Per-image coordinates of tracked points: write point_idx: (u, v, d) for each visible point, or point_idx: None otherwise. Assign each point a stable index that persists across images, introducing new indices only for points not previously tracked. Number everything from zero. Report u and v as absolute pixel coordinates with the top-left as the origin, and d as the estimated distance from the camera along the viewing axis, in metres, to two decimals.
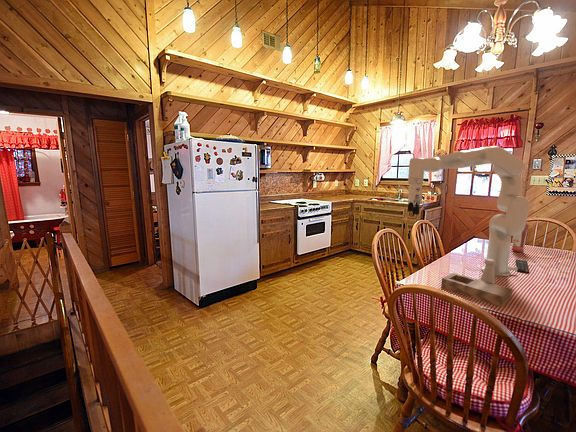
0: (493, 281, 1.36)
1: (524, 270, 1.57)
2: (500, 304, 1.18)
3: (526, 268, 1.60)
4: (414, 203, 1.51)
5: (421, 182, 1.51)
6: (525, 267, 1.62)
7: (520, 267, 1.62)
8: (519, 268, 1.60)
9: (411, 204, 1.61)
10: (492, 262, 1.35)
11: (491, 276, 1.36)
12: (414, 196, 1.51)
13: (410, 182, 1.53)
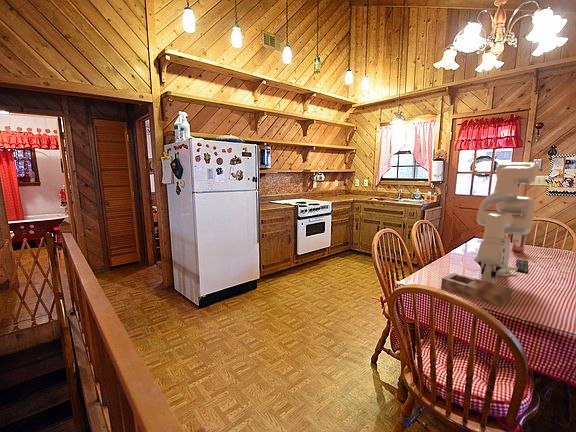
0: (493, 281, 1.36)
1: (523, 270, 1.58)
2: (500, 304, 1.18)
3: (525, 268, 1.60)
4: (496, 268, 1.34)
5: None
6: (525, 267, 1.62)
7: (520, 267, 1.62)
8: (518, 268, 1.60)
9: None
10: None
11: None
12: (502, 259, 1.32)
13: (495, 243, 1.32)
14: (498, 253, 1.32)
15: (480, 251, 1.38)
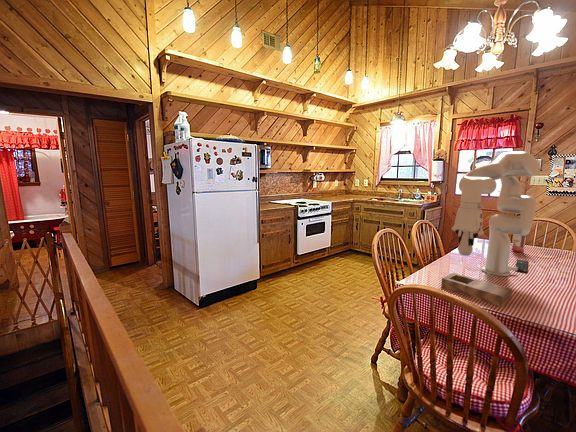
0: (470, 249, 1.30)
1: (522, 270, 1.58)
2: (500, 304, 1.18)
3: (525, 268, 1.61)
4: (473, 235, 1.28)
5: None
6: (524, 267, 1.62)
7: (520, 267, 1.62)
8: (518, 268, 1.61)
9: None
10: None
11: (468, 244, 1.29)
12: (479, 224, 1.25)
13: (472, 208, 1.25)
14: (475, 219, 1.26)
15: (457, 218, 1.31)
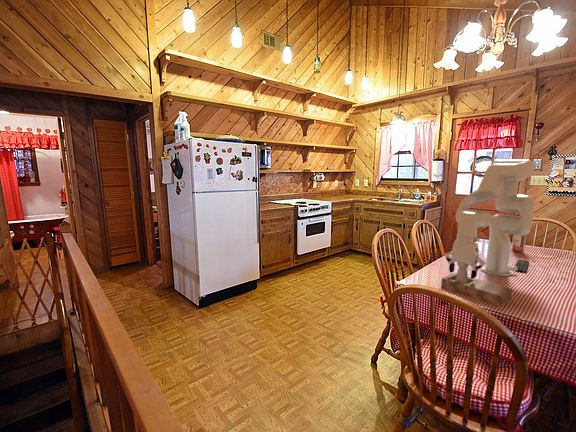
0: None
1: (521, 270, 1.58)
2: (500, 304, 1.18)
3: (525, 268, 1.61)
4: (474, 266, 1.29)
5: None
6: (524, 267, 1.62)
7: (519, 267, 1.62)
8: None
9: (453, 263, 1.37)
10: (465, 264, 1.31)
11: (464, 278, 1.32)
12: (475, 258, 1.28)
13: (468, 241, 1.28)
14: (471, 252, 1.28)
15: (454, 250, 1.34)
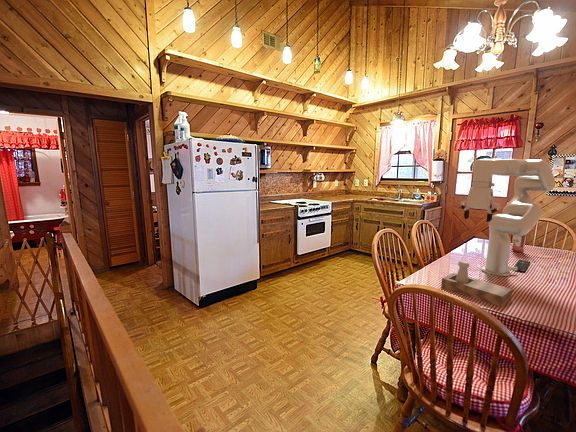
0: None
1: (520, 269, 1.58)
2: (500, 304, 1.18)
3: (524, 268, 1.61)
4: (490, 209, 1.36)
5: None
6: (524, 267, 1.62)
7: (519, 267, 1.63)
8: None
9: (467, 210, 1.45)
10: (465, 264, 1.31)
11: (464, 279, 1.32)
12: (490, 202, 1.36)
13: (483, 186, 1.36)
14: (486, 196, 1.36)
15: (469, 197, 1.42)
